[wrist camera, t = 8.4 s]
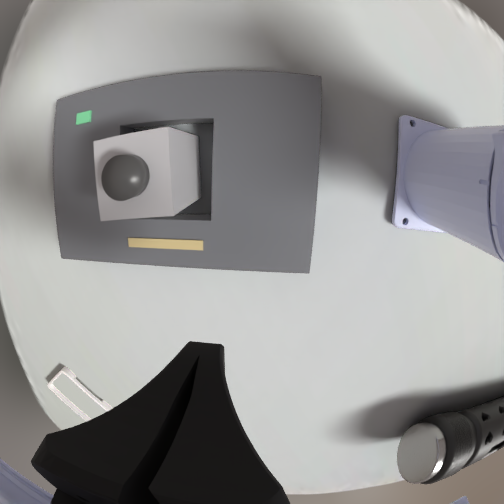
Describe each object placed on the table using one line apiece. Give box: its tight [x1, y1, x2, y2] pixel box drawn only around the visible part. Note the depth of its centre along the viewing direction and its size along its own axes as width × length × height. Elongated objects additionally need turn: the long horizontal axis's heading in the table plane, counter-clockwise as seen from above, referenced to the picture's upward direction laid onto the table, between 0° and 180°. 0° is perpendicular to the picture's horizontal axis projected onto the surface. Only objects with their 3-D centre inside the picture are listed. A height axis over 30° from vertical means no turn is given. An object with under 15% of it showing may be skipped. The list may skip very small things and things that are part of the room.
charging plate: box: [53, 71, 321, 273], centre depth 16 cm, size 18×12×2 cm, turn 88°
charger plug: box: [93, 127, 202, 221], centre depth 13 cm, size 4×4×7 cm
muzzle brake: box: [397, 396, 504, 484], centre depth 20 cm, size 10×28×10 cm, turn 80°
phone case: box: [47, 366, 113, 422], centre depth 26 cm, size 7×1×15 cm
